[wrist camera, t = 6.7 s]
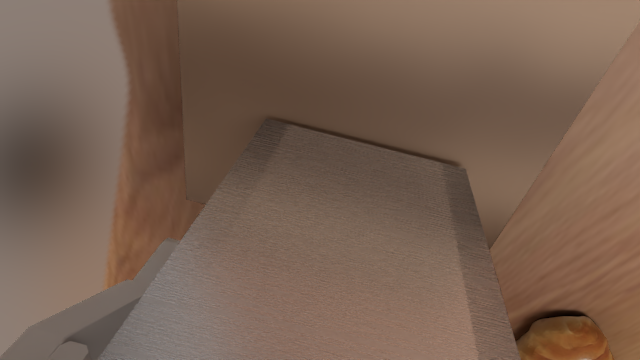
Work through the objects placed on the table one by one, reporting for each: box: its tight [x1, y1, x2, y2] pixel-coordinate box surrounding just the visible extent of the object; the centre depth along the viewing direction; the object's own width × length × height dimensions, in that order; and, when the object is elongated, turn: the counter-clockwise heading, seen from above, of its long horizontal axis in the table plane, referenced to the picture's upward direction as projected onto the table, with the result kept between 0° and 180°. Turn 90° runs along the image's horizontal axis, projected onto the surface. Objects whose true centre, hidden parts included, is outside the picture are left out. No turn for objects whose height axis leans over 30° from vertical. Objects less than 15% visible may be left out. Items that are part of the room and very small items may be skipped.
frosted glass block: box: [98, 119, 521, 360], centre depth 10 cm, size 6×7×9 cm
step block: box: [177, 0, 640, 250], centre depth 13 cm, size 12×12×6 cm
